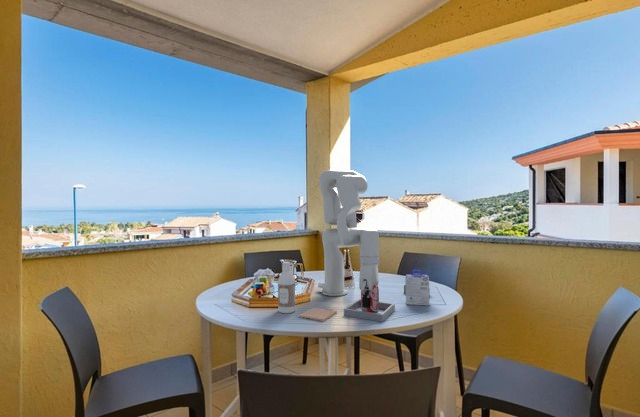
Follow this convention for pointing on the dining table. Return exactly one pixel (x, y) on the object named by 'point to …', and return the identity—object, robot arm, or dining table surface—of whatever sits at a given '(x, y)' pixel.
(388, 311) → the parts bin
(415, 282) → the ink cartridge box
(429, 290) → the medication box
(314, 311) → the terracotta tile
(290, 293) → the bath foam
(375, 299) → the soda can
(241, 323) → the dining table surface
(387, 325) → the dining table surface
